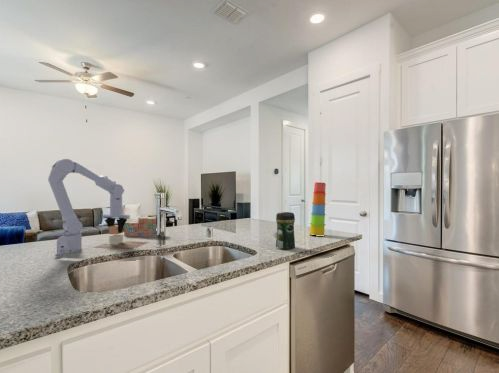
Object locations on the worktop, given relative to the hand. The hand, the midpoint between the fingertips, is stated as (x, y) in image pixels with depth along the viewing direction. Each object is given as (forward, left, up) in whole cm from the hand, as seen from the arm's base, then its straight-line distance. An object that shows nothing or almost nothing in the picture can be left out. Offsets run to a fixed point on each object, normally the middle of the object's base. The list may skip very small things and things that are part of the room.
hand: (116, 232), depth 135 cm
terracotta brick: (0, 0, -1) cm, 1 cm away
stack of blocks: (+22, -2, -7) cm, 23 cm away
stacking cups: (+48, -109, -7) cm, 119 cm away
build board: (-2, -6, -7) cm, 9 cm away
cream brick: (0, 0, -6) cm, 6 cm away
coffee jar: (+11, -89, -7) cm, 90 cm away
